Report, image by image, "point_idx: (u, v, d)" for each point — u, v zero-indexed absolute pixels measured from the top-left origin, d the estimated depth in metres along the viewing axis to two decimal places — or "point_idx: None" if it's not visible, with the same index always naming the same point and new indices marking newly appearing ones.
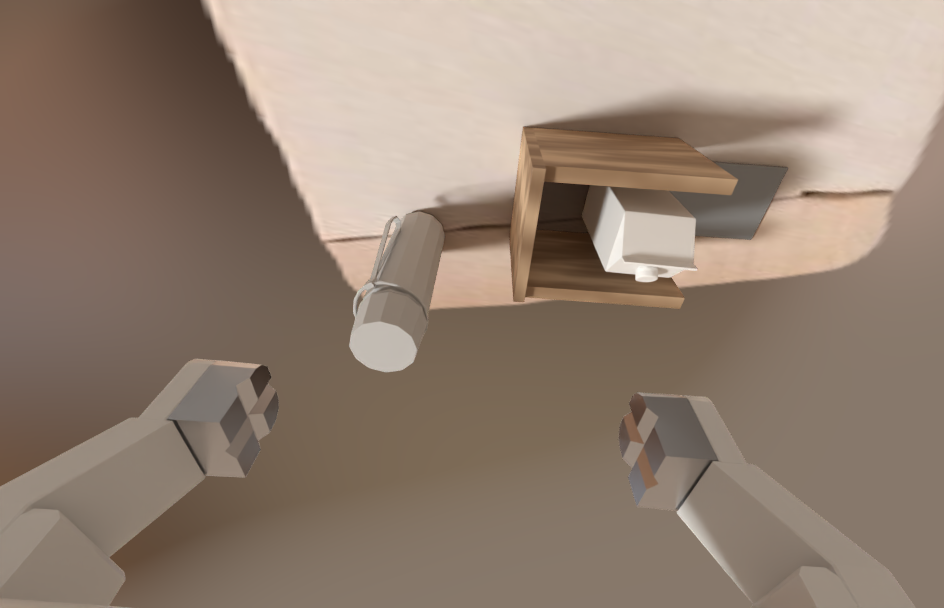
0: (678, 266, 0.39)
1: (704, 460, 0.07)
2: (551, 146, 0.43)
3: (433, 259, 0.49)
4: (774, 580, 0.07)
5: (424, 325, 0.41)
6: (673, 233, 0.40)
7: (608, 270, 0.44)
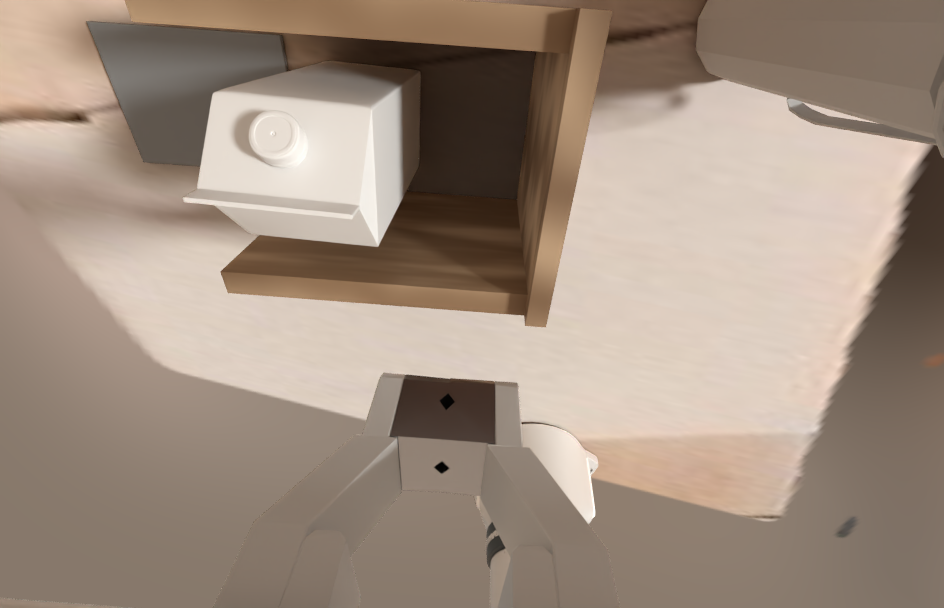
0: (228, 205, 0.17)
1: (482, 443, 0.07)
2: None
3: (773, 60, 0.20)
4: None
5: None
6: (274, 224, 0.21)
7: (365, 118, 0.18)
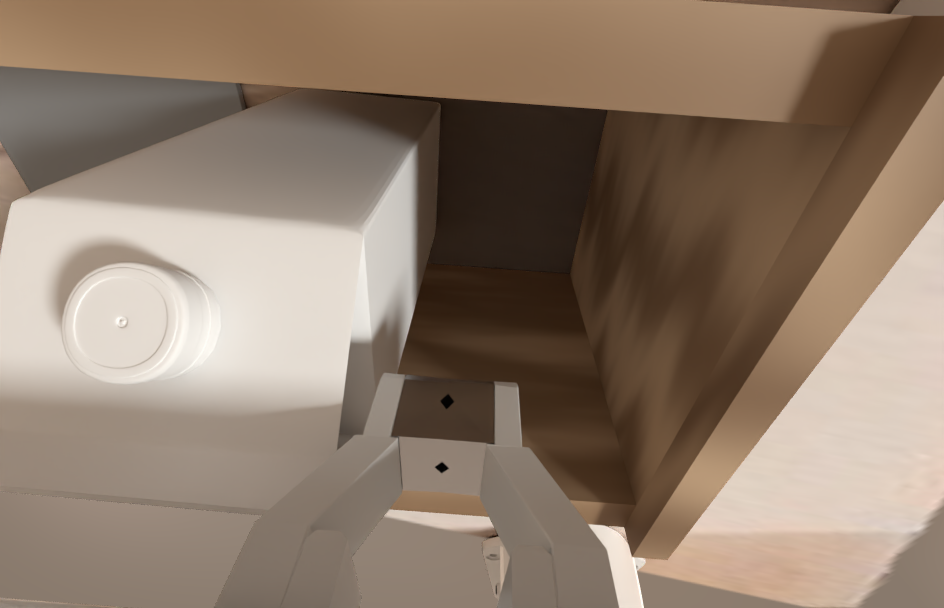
0: None
1: (481, 443, 0.07)
2: None
3: None
4: None
5: None
6: None
7: (350, 255, 0.08)
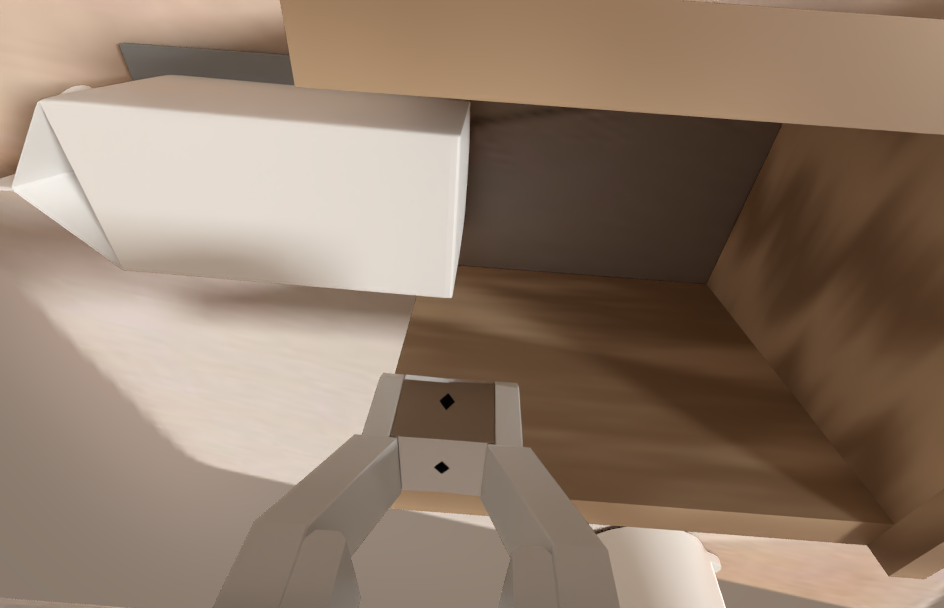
0: None
1: (482, 443, 0.07)
2: None
3: None
4: None
5: None
6: None
7: (39, 108, 0.14)
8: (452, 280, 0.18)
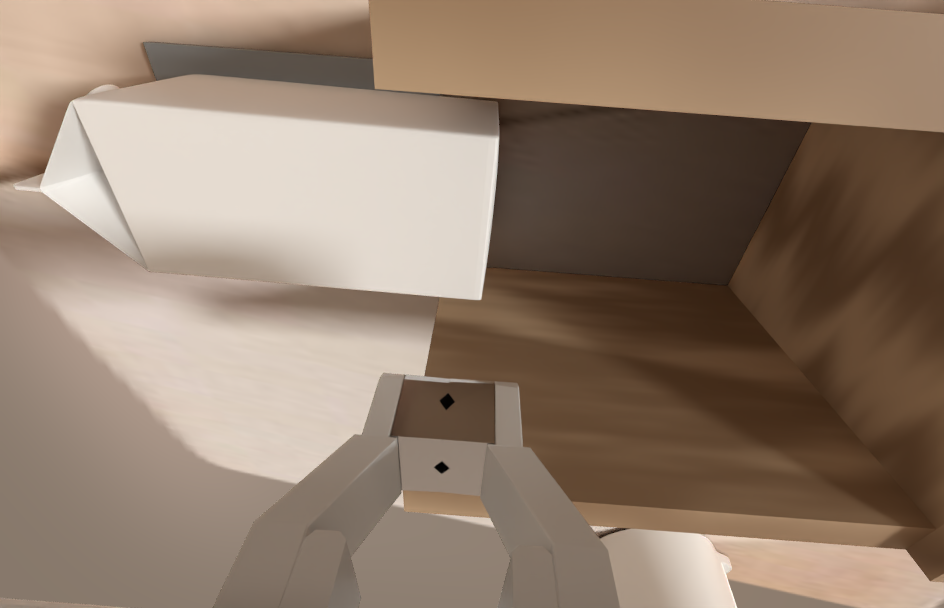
0: None
1: (482, 443, 0.07)
2: None
3: None
4: None
5: None
6: None
7: (71, 108, 0.14)
8: (482, 282, 0.18)
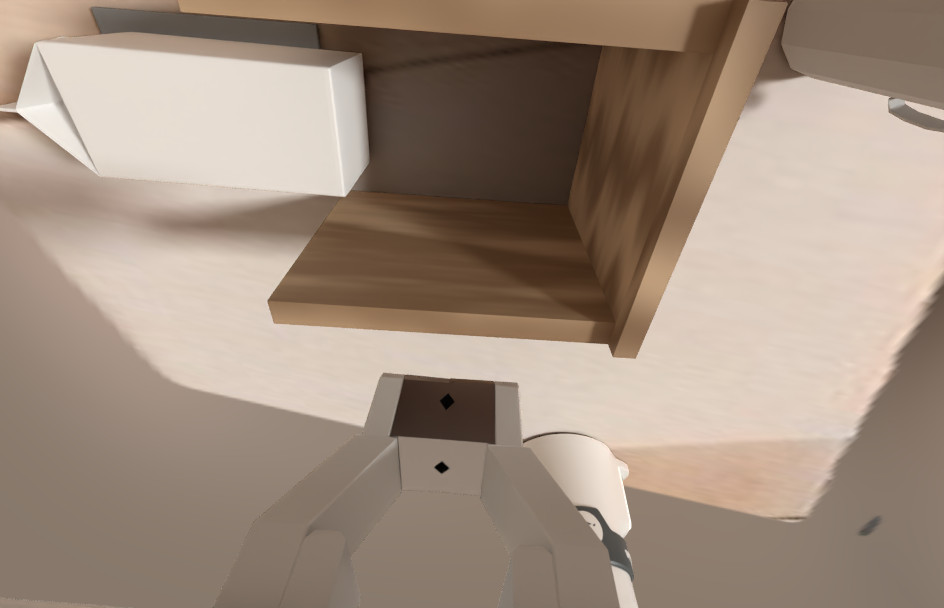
0: None
1: (482, 443, 0.07)
2: None
3: (911, 59, 0.18)
4: None
5: None
6: None
7: (36, 48, 0.21)
8: (343, 181, 0.25)
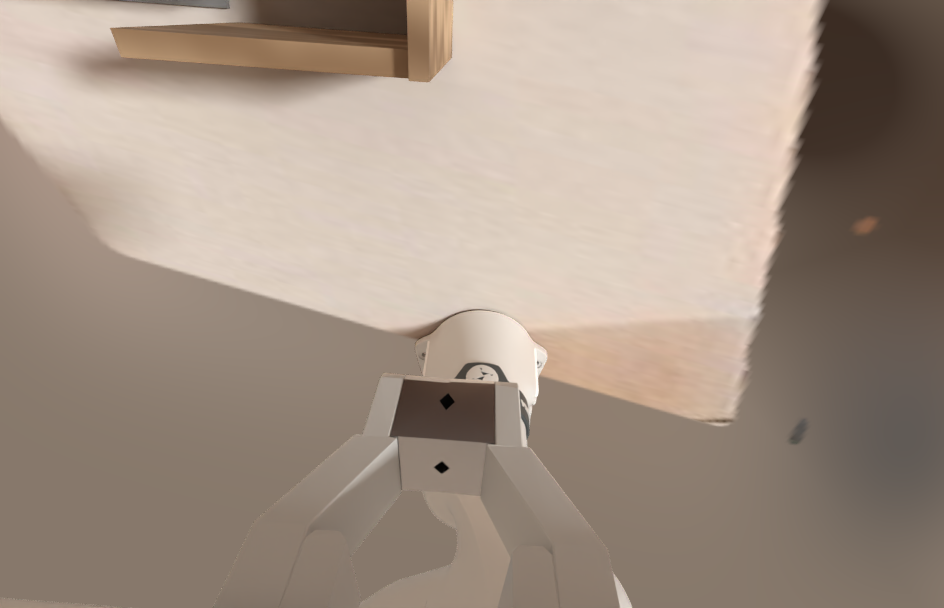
0: None
1: (482, 443, 0.07)
2: None
3: None
4: None
5: None
6: None
7: None
8: None
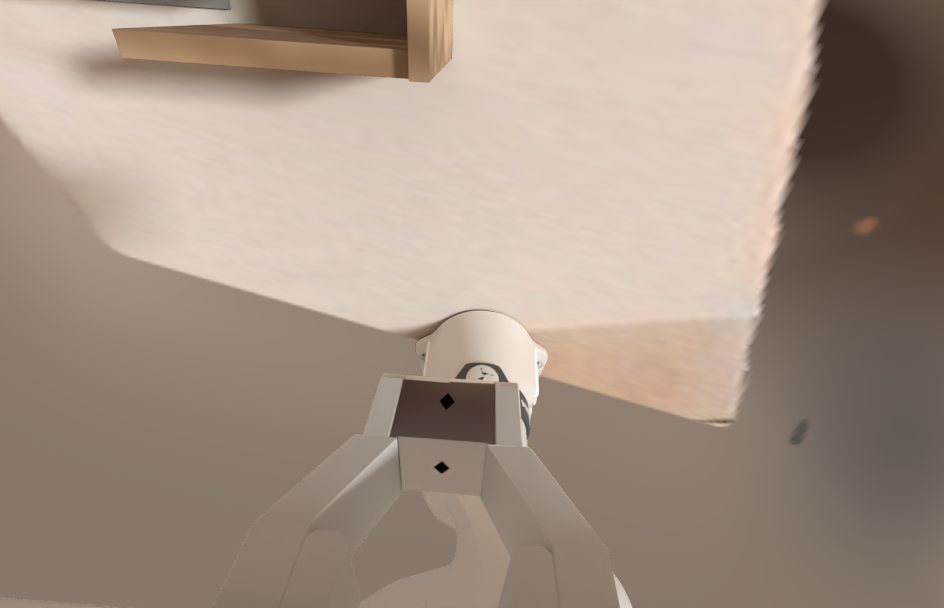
0: None
1: (482, 443, 0.07)
2: None
3: None
4: None
5: None
6: None
7: None
8: None
